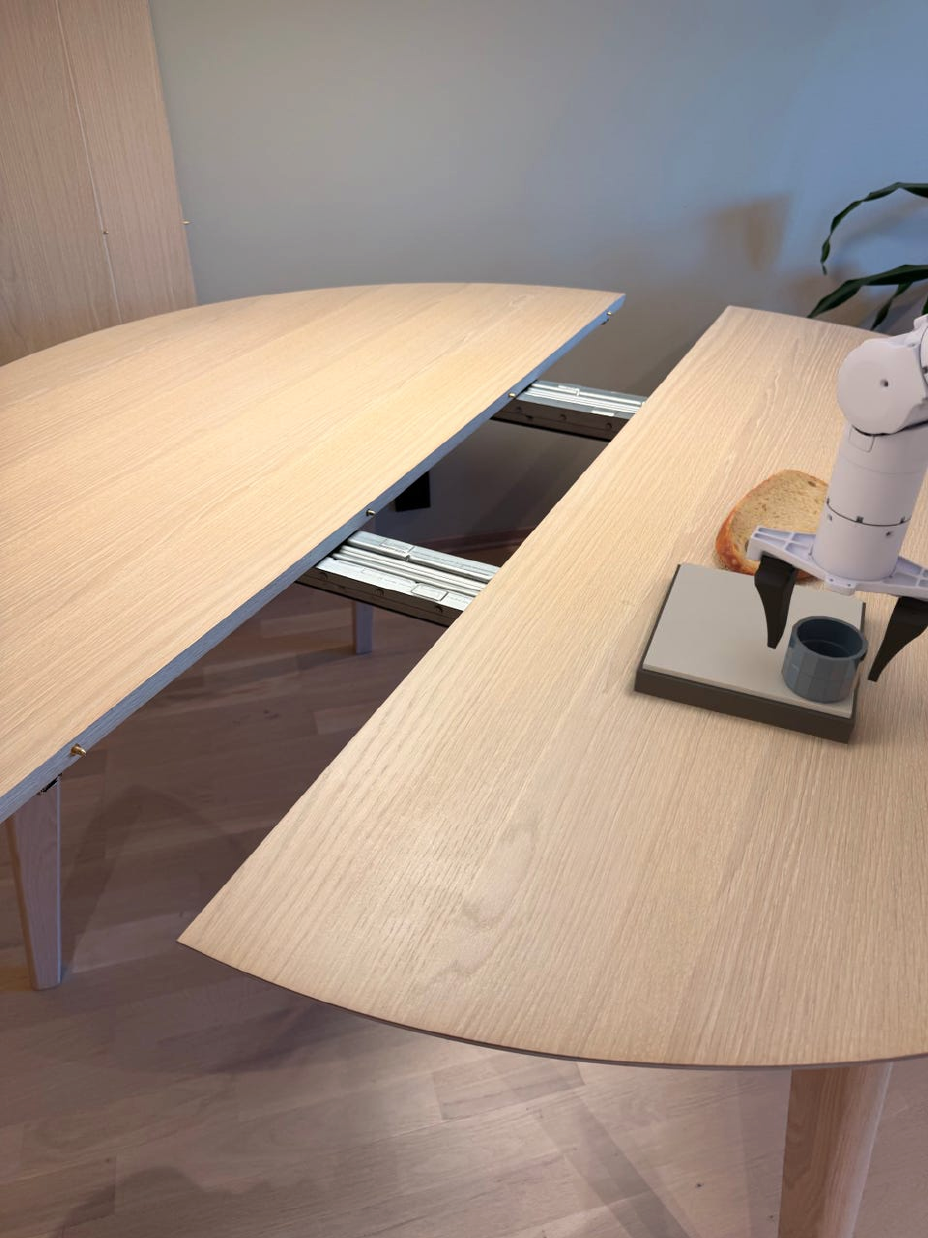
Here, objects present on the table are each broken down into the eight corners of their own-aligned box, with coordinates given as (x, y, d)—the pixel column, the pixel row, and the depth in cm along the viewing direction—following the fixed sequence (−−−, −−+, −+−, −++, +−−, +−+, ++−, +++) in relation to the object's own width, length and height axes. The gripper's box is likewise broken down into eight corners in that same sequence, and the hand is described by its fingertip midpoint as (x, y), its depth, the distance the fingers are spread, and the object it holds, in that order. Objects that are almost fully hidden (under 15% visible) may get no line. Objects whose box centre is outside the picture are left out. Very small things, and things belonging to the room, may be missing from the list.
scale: (850, 744, 74) (859, 718, 72) (633, 691, 79) (637, 665, 77) (862, 622, 86) (870, 597, 85) (674, 582, 91) (678, 558, 90)
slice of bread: (808, 481, 107) (815, 451, 105) (906, 566, 94) (917, 534, 91) (662, 501, 104) (666, 471, 101) (742, 593, 90) (749, 560, 88)
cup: (868, 694, 74) (884, 649, 72) (812, 713, 72) (825, 668, 70) (820, 652, 78) (833, 609, 76) (765, 670, 77) (776, 626, 74)
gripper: (748, 502, 66) (716, 654, 74) (972, 562, 60) (911, 720, 68) (777, 462, 71) (744, 608, 79) (988, 513, 65) (929, 666, 73)
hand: (823, 657), depth 74 cm, fingers open, 7 cm apart
